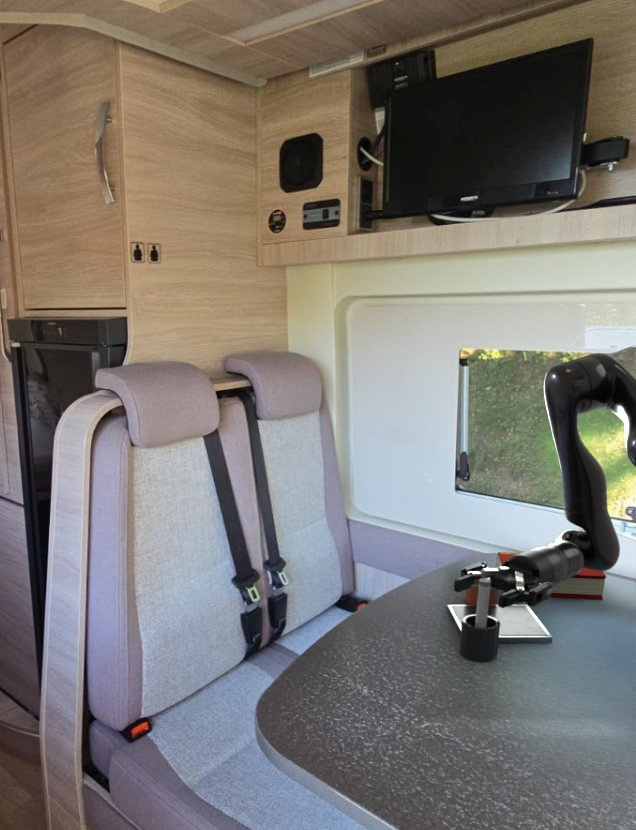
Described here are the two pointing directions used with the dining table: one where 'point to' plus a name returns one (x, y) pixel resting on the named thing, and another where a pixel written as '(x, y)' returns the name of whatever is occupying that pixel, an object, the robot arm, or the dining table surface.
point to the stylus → (482, 603)
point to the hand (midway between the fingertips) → (477, 593)
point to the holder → (479, 639)
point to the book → (571, 582)
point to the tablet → (507, 622)
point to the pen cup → (473, 595)
